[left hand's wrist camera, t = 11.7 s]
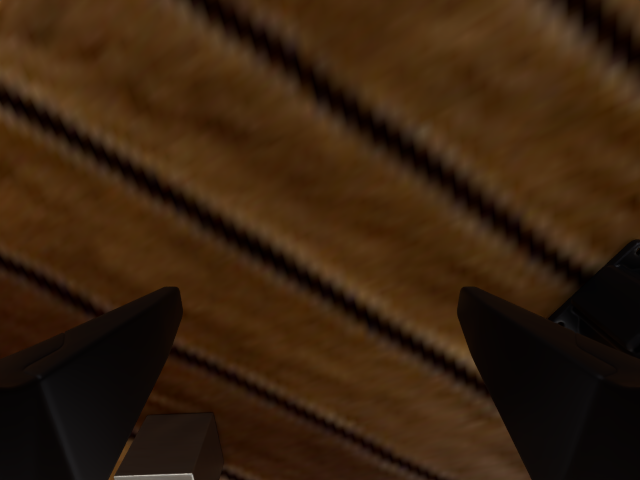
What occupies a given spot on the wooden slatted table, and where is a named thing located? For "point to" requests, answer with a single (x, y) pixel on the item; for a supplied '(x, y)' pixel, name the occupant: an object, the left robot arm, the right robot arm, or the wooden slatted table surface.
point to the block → (174, 449)
